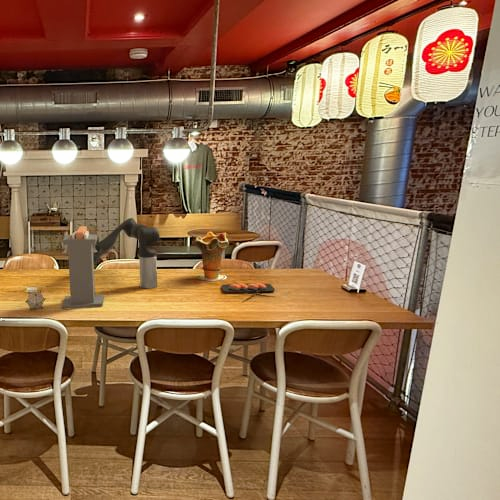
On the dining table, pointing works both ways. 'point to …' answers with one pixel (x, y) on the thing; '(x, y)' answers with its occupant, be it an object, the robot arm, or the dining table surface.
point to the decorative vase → (212, 255)
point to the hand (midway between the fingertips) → (84, 236)
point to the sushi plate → (248, 288)
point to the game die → (35, 300)
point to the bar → (81, 232)
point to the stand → (81, 273)
